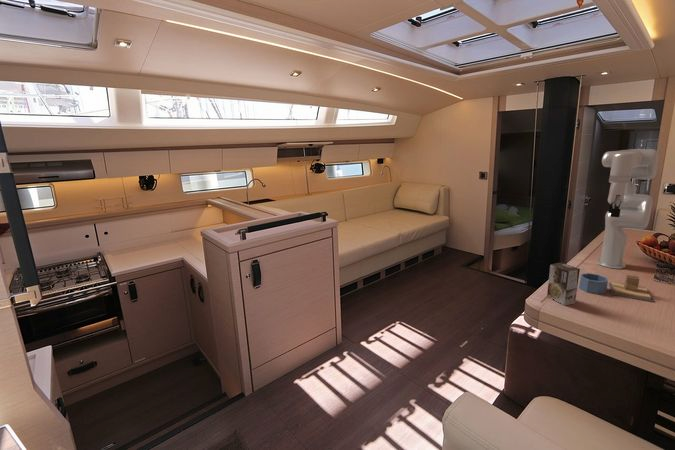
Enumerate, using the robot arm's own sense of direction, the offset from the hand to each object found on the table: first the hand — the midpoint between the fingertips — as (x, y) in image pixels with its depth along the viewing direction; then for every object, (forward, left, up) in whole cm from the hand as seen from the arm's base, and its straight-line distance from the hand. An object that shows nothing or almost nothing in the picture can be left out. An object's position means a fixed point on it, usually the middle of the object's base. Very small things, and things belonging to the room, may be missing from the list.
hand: (613, 214), depth 157 cm
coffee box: (+37, -17, -34) cm, 53 cm away
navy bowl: (+17, -5, -33) cm, 38 cm away
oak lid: (+13, +9, -33) cm, 36 cm away
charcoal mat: (+13, +9, -33) cm, 37 cm away
